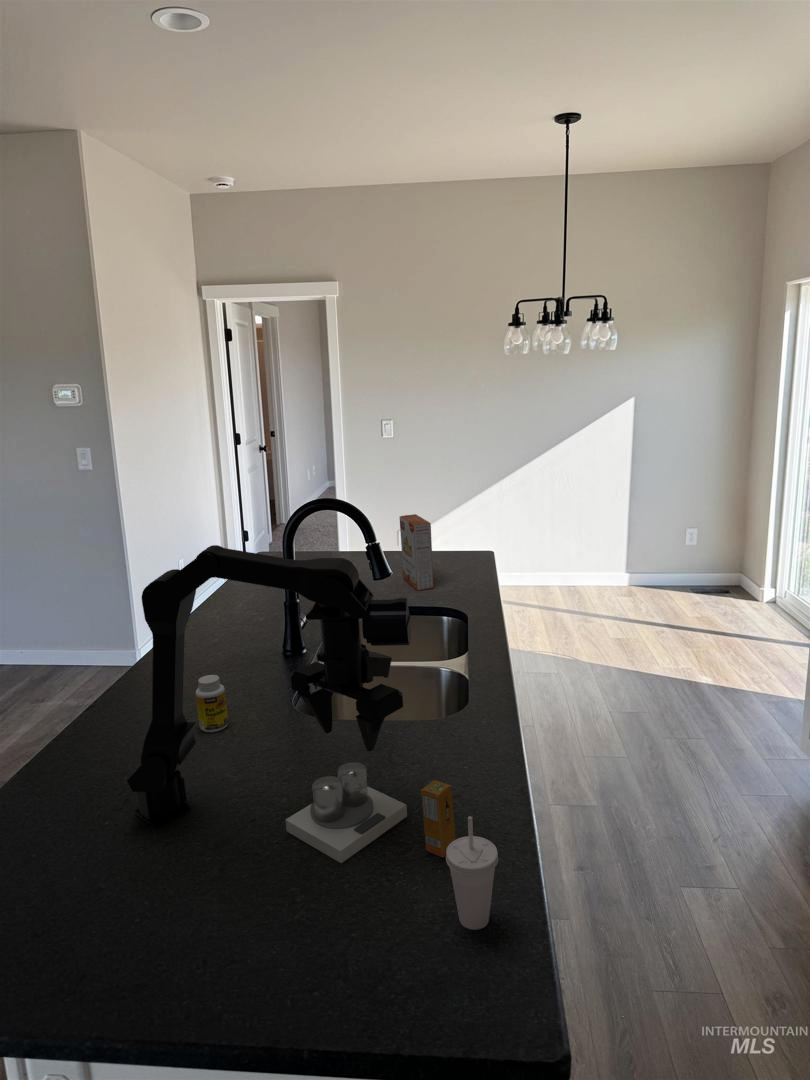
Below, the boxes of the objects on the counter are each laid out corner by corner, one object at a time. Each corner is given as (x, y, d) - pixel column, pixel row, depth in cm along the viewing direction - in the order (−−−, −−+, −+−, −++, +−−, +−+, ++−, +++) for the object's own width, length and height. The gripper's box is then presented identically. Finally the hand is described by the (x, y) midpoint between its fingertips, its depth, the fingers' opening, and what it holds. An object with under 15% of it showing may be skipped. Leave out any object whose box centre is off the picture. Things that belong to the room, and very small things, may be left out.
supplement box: (437, 838, 110) (434, 777, 107) (456, 847, 107) (454, 785, 105) (423, 850, 107) (420, 788, 105) (442, 859, 105) (439, 796, 103)
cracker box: (402, 579, 239) (398, 515, 234) (419, 577, 241) (416, 513, 236) (415, 591, 226) (412, 524, 221) (434, 588, 227) (431, 521, 223)
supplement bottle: (205, 736, 144) (199, 687, 141) (196, 725, 148) (189, 678, 146) (233, 727, 147) (227, 679, 144) (223, 717, 151) (217, 670, 149)
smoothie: (495, 899, 97) (493, 803, 94) (503, 936, 91) (501, 835, 87) (446, 902, 97) (442, 806, 93) (451, 939, 90) (446, 838, 87)
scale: (341, 863, 105) (339, 847, 105) (286, 831, 113) (285, 816, 113) (407, 816, 115) (406, 801, 115) (352, 789, 123) (351, 775, 123)
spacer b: (373, 797, 116) (372, 768, 115) (353, 810, 113) (351, 780, 112) (353, 787, 119) (351, 759, 118) (333, 800, 116) (331, 771, 115)
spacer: (350, 811, 113) (347, 781, 112) (330, 826, 110) (327, 795, 108) (329, 802, 116) (326, 773, 114) (309, 816, 112) (306, 786, 111)
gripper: (425, 641, 110) (430, 738, 113) (338, 617, 122) (344, 705, 126) (372, 666, 102) (379, 769, 105) (284, 638, 114) (293, 731, 118)
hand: (349, 741), depth 114 cm, fingers open, 9 cm apart
